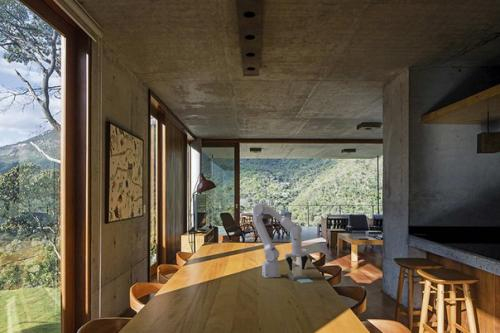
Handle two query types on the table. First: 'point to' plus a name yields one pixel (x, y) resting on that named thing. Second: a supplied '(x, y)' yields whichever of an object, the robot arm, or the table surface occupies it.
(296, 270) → the plug
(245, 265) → the table surface
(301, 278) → the grey square frame
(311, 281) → the mat
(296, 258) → the mug
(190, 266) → the table surface
